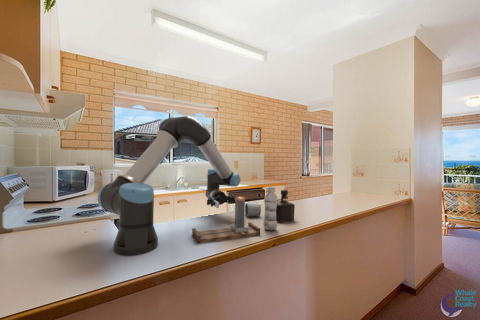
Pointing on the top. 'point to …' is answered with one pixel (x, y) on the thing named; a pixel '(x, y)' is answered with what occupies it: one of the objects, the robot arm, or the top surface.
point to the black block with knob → (284, 208)
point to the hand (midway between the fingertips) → (231, 204)
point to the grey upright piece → (239, 216)
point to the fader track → (223, 234)
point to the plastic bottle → (270, 209)
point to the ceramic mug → (252, 210)
